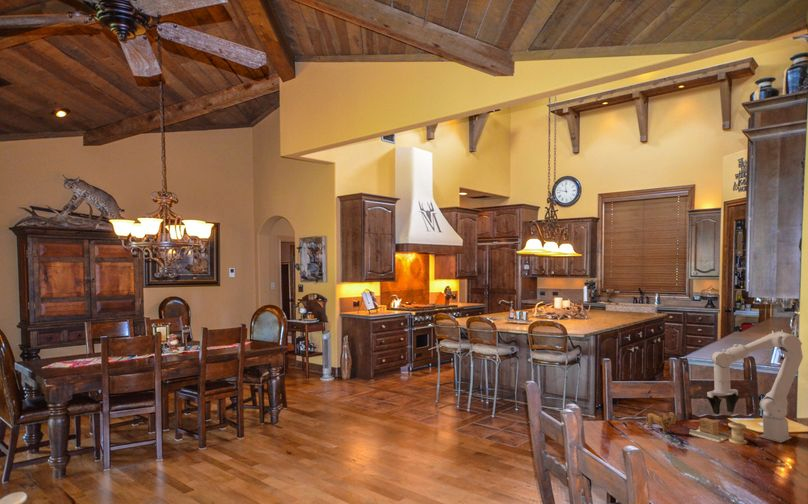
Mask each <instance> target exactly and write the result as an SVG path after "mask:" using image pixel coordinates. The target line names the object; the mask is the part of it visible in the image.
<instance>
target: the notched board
mask: <svg viewBox="0 0 808 504" xmlns="http://www.w3.org/2000/svg"><path fill="white" fill-rule="evenodd" d="M688 435H691V436H695V437H698V438H702V439H705V440H709V441H713V442H716V443H721V442H724V441H726V440H729V438H731V436H730V433H728V432H724V431H720V430H719V436H714V435H711V434H707V433H703V432H700V425H699V426H698V429H695V430H694V429H692V428H690V429H689V432H688Z"/></svg>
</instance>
